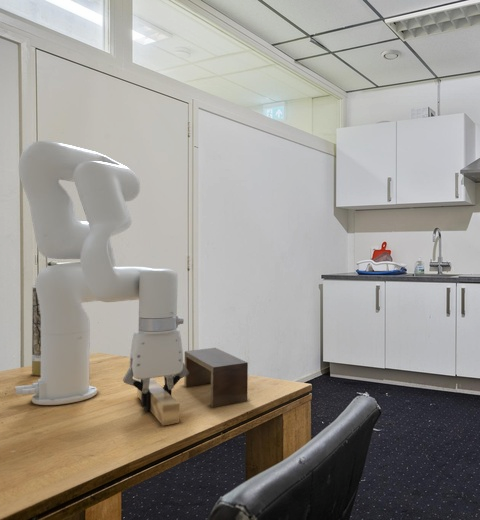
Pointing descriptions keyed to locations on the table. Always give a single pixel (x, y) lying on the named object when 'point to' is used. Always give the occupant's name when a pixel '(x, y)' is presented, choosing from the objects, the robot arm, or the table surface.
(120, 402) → the table surface
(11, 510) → the table surface
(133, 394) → the table surface
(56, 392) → the robot arm
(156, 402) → the stick
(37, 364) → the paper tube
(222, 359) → the dark brown channel bracket
